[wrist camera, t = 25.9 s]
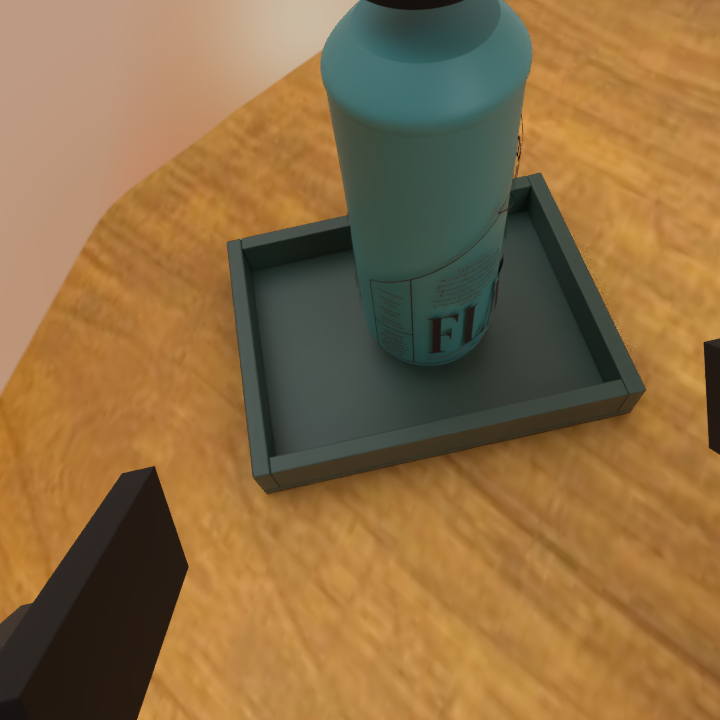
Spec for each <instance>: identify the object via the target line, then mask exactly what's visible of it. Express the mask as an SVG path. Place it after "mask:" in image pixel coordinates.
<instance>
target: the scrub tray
mask: <svg viewBox="0 0 720 720" xmlns="http://www.w3.org/2000/svg"><path fill="white" fill-rule="evenodd" d="M514 180H515V182H514ZM513 183H514V186H513ZM515 184H516V185H515ZM512 186H513V187H512ZM511 188H512V190H511V193H512V195H513V197H512V195H511V194H510V198H509V204H508V208H509V207H510V206H511V205H512V203H513V205H512V206H511V208H510V209H508V210H507V217H506V224H505V226H506V228H505V229H507V230H505V232H504V234H505V235H506V231H507V235H506V239H505V235H504V236H503V242H502V248H501V255H500V261H501V259H502V257H503V265H502V268H501V271H500V273H499V275H498V277H497V280H496V283H497V281H498V279H499V287H498V296H497V304H496V308H495V306H494V305H495V299H494V300H493V306H492V309H493V310H492V312H491V319H490V322H489V325H488V327H489V326H490V327H491V328H490V327H489V328H487V331H486V332H485V334H484V335H483V337H482V338H481V340H480V341H479V342H478V344H477V345H476V347H475V348H474V349H473V350H471V351H470V352H469V353H467V354H466V355H464V356H463V357H461V358H459V359H457V360H455V361H453V362H450V363H447V364H442V365H435V366H422V365H415V364H410V363H407V362H404V361H401V360H399V359H397V358H395V357H393V356H392V355H390V354H389V353H387V352H386V351H385V350H383V349H382V348H381V347H380V346H379V345H378V343H377V342H376V340H375V339H374V338H373V336H372V335H371V333H370V331H369V329H368V326H367V323H366V319H365V314H364V308H363V302H362V300H361V298H362V296H361V297H360V294H361V293H360V291H361V290H359V287H360V285H359V286H358V284H359V281H358V282H357V280H358V279H357V280H356V279H355V277H354V276H355V275H356V277H358V273H357V269H356V261H355V262H354V259H355V256H354V253H353V251H354V250H353V246H352V245H353V243H352V241H350V240H352V236H351V235H350V234H351V233H349V232H351V229H350V228H351V227H350V219H349V215H346V216H342V217H337V218H333V219H328V220H324V221H319V222H315V223H310V224H305V225H301V226H296V227H292V228H287V229H283V230H278V231H274V232H269V233H265V234H260V235H256V236H251V237H246V238H242V239H241V240H240V239H238V240H233V241H229V242H227V250H228V259H229V268H230V276H231V285H232V294H233V303H234V312H235V321H236V330H237V339H238V348H239V357H240V366H241V375H242V384H243V393H244V402H245V411H246V420H247V429H248V438H249V447H250V456H251V465H252V474H253V478H254V479H255V480H256V482H257V483H258V484H259V485H260V486H261V487H262V489H263V490H264V492H265V493H266V494H268V493H272V492H277V491H281V490H286V489H290V488H295V487H299V486H304V485H308V484H313V483H317V482H322V481H326V480H331V479H335V478H340V477H344V476H349V475H353V474H358V473H362V472H366V471H371V470H375V469H380V468H384V467H389V466H393V465H398V464H402V463H407V462H411V461H416V460H420V459H425V458H429V457H434V456H438V455H443V454H447V453H452V452H456V451H460V450H465V449H469V448H474V447H478V446H483V445H487V444H492V443H496V442H501V441H505V440H510V439H514V438H519V437H523V436H528V435H532V434H537V433H541V432H546V431H550V430H555V429H559V428H563V427H568V426H572V425H577V424H581V423H586V422H590V421H595V420H599V419H604V418H608V417H613V416H617V415H622V414H626V413H630V412H631V410H632V408H633V407H634V406H635V405H636V403H637V402H638V401H639V399H640V398H641V396H642V395H643V394H644V392H645V391H646V389H645V386H644V384H643V382H642V380H641V378H640V376H639V374H638V372H637V370H636V368H635V366H634V364H633V362H632V360H631V358H630V356H629V353H628V351H627V349H626V347H625V345H624V343H623V341H622V339H621V337H620V335H619V333H618V331H617V329H616V327H615V325H614V322H613V320H612V318H611V316H610V314H609V312H608V310H607V308H606V306H605V304H604V302H603V300H602V298H601V296H600V294H599V292H598V289H597V287H596V285H595V283H594V281H593V279H592V277H591V275H590V273H589V271H588V269H587V267H586V265H585V263H584V261H583V259H582V256H581V254H580V252H579V250H578V248H577V246H576V244H575V242H574V240H573V238H572V236H571V234H570V232H569V230H568V228H567V226H566V223H565V221H564V219H563V217H562V215H561V213H560V211H559V209H558V207H557V205H556V203H555V201H554V199H553V197H552V195H551V192H550V190H549V188H548V186H547V184H546V182H545V180H544V178H543V176H542V174H541V173H537V174H532V175H528V176H523V177H519V178H517V179H515V178H514V179H513V181H512V185H511ZM514 190H515V191H514ZM513 198H514V200H513ZM347 216H348V219H347ZM349 230H350V231H349ZM349 238H350V240H349ZM349 241H350V242H349ZM349 248H350V249H349ZM351 248H352V249H351ZM351 250H353V251H351ZM351 252H352V254H351ZM350 254H351V255H350ZM351 256H352V257H351ZM352 258H353V259H352ZM352 265H353V266H352ZM356 284H357V286H358V288H356V287H357V286H356ZM495 289H496V287H495ZM495 293H496V292H495ZM494 297H495V296H494ZM358 298H359V299H358ZM493 307H494V308H493ZM495 309H496V310H495ZM494 315H495V316H494ZM492 319H494V320H492ZM491 322H492V323H491ZM490 324H491V325H492V326H491V325H490ZM489 329H490V330H489ZM488 331H489V332H488ZM486 334H487V335H486ZM484 337H485V338H484ZM483 338H484V339H483ZM482 339H483V340H482ZM479 343H480V344H479Z"/></svg>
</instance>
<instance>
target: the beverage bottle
mask: <svg viewBox="0 0 720 720" xmlns="http://www.w3.org/2000/svg"><path fill="white" fill-rule="evenodd" d="M531 63H532V44H531V39H530V35H529V33H528V30H527V28H526V27H525V25H524V23H523V22H522V20H521V19H520V17H519V16H518V15H517V14H516V13H515V12H514V11H513V10H512V8H511V7H510V6H509V5H508V4H506V3H505V2H504V1H503V0H360V1H359V2H357V3H356V4H355V5H354V6H353V7H352V8H351V9H350V10H349V11H348V13H347V14H346V15H345V16H344V17H343V18H342V19H341V20H340V21H339V23H338V24H337V25H336V26H335V28H334V29H333V31H332V32H331V34H330V36H329V37H328V39H327V41H326V43H325V46H324V48H323V52H322V57H321V74H322V80H323V84H324V87H325V89H326V91H327V96H328V101H329V107H330V112H331V118H332V124H333V129H334V135H335V141H336V146H337V152H338V157H339V163H340V169H341V174H342V180H343V186H344V191H345V197H346V202H347V208H348V214H349V219H350V227H351V228H350V229H351V232H349V233H351V234H350V235H351V236H352V240H350V238H349V240H350V241H352V243H353V245H352V246H353V250H354V251H353V250H351V251H353V253H354V256H355V259H354V262H355V261H356V269H357V273H358V277H356V275H355V276H354V277H355V279H356V280H357V279H358V280H357V282H358V281H359V284H358V286H359V285H360V287H359V290H361V291H360V293H361V294H360V297H361V296H362V298H361V300H362V302H363V308H364V314H365V319H366V323H367V326H368V329H369V331H370V333H371V335H372V336H373V338H374V339H375V340H376V342H377V343H378V345H379V346H380V347H381V348H382V349H383V350H385V351H386V352H387V353H389V354H390V355H392V356H393V357H395V358H397V359H399V360H401V361H404V362H407V363H410V364H415V365H422V366H435V365H442V364H447V363H450V362H453V361H455V360H457V359H459V358H461V357H463V356H464V355H466V354H467V353H469V352H470V351H471V350H473V349H474V348H475V347H476V345H477V344H478V342H479V341H480V340H481V338H482V337H483V335H484V334H485V332H486V331H487V328H489V327H490V326H489V327H488V325H489V322H490V319H491V312H492V310H493V309H492V306H493V300H494V299H495V305H494V306H495V308H496V304H497V296H498V287H499V279H498V281H497V283H496V280H497V277H498V275H499V273H500V271H501V268H502V265H503V257H502V259H501V261H500V255H501V248H502V242H503V236H504V235H505V234H504V232H505V230H507V229H505V228H506V226H505V224H506V217H507V210H508V209H510V208H511V206H512V205H513V203H512V205H511V206H510V207H509V208H508V204H509V198H510V194H511V195H512V193H511V190H512V188H511V185H512V181H513V177H514V175H513V172H514V166H515V159H516V154H517V157H518V153H517V146H518V140H519V146H520V150H521V143H520V137H519V136H518V133H519V126H520V119H521V118H522V114H521V112H522V106H523V99H524V92H525V85H526V80H527V78H528V75H529V73H530V68H531ZM522 133H523V124H522ZM522 142H523V139H522ZM518 152H519V147H518ZM521 153H522V152H520V154H521ZM520 154H519V157H518V160H520ZM518 166H519V164H518ZM516 172H517V173H518V167H517V169H516ZM515 179H517V178H516V175H515ZM514 182H515V180H514ZM515 185H516V184H515ZM513 186H514V183H513ZM513 186H512V187H513ZM514 191H515V190H514ZM512 197H513V195H512ZM513 200H514V198H513ZM347 219H348V216H347ZM349 231H350V230H349ZM506 235H507V231H506ZM506 235H505V239H506ZM350 241H349V242H350ZM349 249H350V248H349ZM351 249H352V248H351ZM351 254H352V252H351ZM351 254H350V255H351ZM351 257H352V256H351ZM352 259H353V258H352ZM352 266H353V265H352ZM356 286H357V284H356ZM358 286H357V287H356V288H358ZM495 287H496V289H495ZM495 292H496V293H495ZM494 296H495V297H494ZM358 299H359V298H358ZM493 308H494V307H493ZM495 310H496V309H495ZM494 316H495V315H494ZM492 320H494V319H492ZM491 323H492V322H491ZM490 325H491V324H490ZM491 326H492V325H491ZM490 328H491V327H490ZM489 330H490V329H489ZM488 332H489V331H488ZM486 335H487V334H486ZM484 338H485V337H484ZM484 338H483V339H484ZM483 339H482V340H483ZM479 344H480V343H479Z"/></svg>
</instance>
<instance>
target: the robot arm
mask: <svg viewBox="0 0 720 720" xmlns="http://www.w3.org/2000/svg"><path fill="white" fill-rule="evenodd" d="M704 358H705V378H706V397H707V416H708V436H709V448H710V449H712V450H713V451H715V452H716V453H718V454H719V455H720V339H715V340H711V341H706V342H704ZM188 567H189V566H188V563H187V561H186V558H185V555H184V552H183V549H182V546H181V543H180V540H179V537H178V534H177V531H176V528H175V525H174V522H173V519H172V516H171V513H170V510H169V507H168V504H167V501H166V498H165V496H164V493H163V490H162V487H161V484H160V481H159V478H158V475H157V472H156V469H155V466H153V467H148V468H144V469H140V470H135V471H131V472H126V473H122V474H121V476H120V477H119V479H118V480H117V482H116V483H115V484H114V486H113V487H112V489H111V490H110V492H109V493H108V495H107V496H106V498H105V499H104V500H103V502H102V503H101V505H100V506H99V508H98V509H97V511H96V512H95V514H94V515H93V516H92V518H91V519H90V521H89V522H88V524H87V525H86V527H85V528H84V529H83V531H82V532H81V534H80V535H79V537H78V538H77V540H76V541H75V543H74V544H73V545H72V547H71V548H70V550H69V551H68V553H67V554H66V556H65V557H64V559H63V560H62V561H61V563H60V564H59V566H58V567H57V569H56V570H55V572H54V573H53V575H52V576H51V577H50V579H49V580H48V582H47V583H46V585H45V586H44V588H43V589H42V590H41V592H40V593H39V595H38V596H37V598H36V599H35V601H34V602H33V603H31V604H26V605H22V606H20V607H19V608H18V609H17V610H16V611H15V612H13V613H12V614H11V615H10V616H9V617H8V618H6V619H5V620H4V621H3V622H2V623H1V624H0V720H137V718H138V715H139V712H140V709H141V706H142V703H143V700H144V697H145V694H146V691H147V688H148V685H149V682H150V679H151V676H152V673H153V671H154V668H155V665H156V662H157V659H158V656H159V653H160V650H161V647H162V644H163V641H164V638H165V635H166V632H167V629H168V626H169V623H170V620H171V617H172V614H173V611H174V608H175V605H176V602H177V599H178V597H179V594H180V591H181V588H182V585H183V582H184V579H185V576H186V573H187V570H188Z"/></svg>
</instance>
